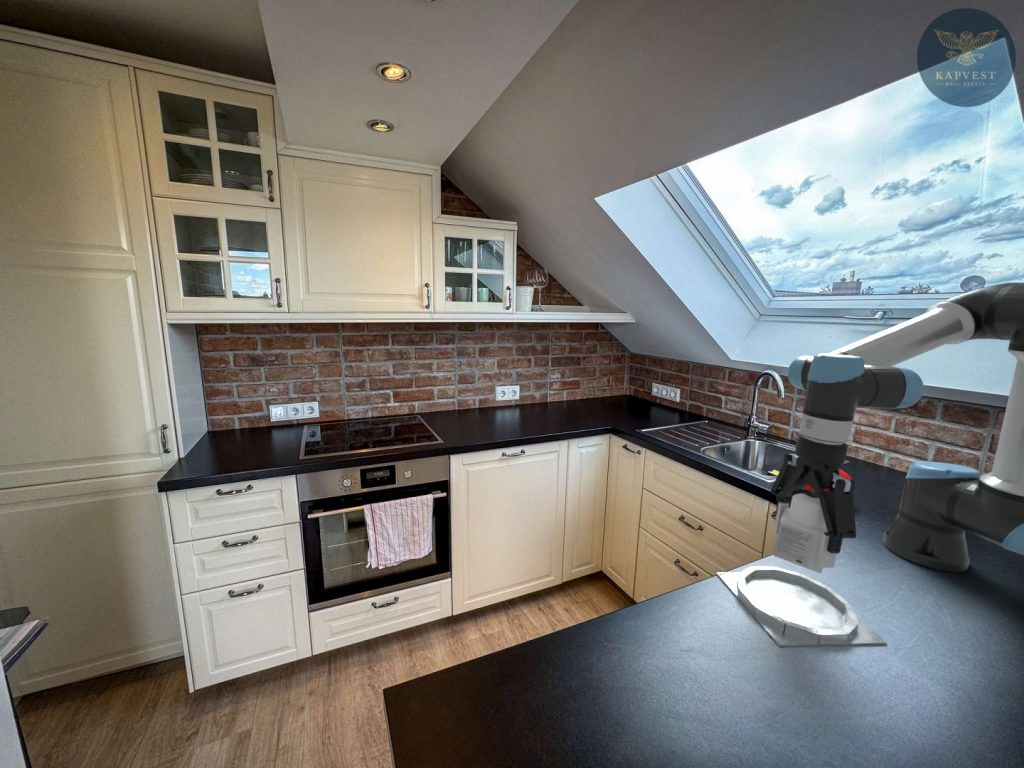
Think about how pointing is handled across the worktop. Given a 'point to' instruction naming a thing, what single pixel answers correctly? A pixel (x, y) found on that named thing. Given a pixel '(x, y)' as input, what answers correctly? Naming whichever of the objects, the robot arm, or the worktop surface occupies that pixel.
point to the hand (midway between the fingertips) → (801, 548)
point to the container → (801, 530)
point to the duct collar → (798, 608)
